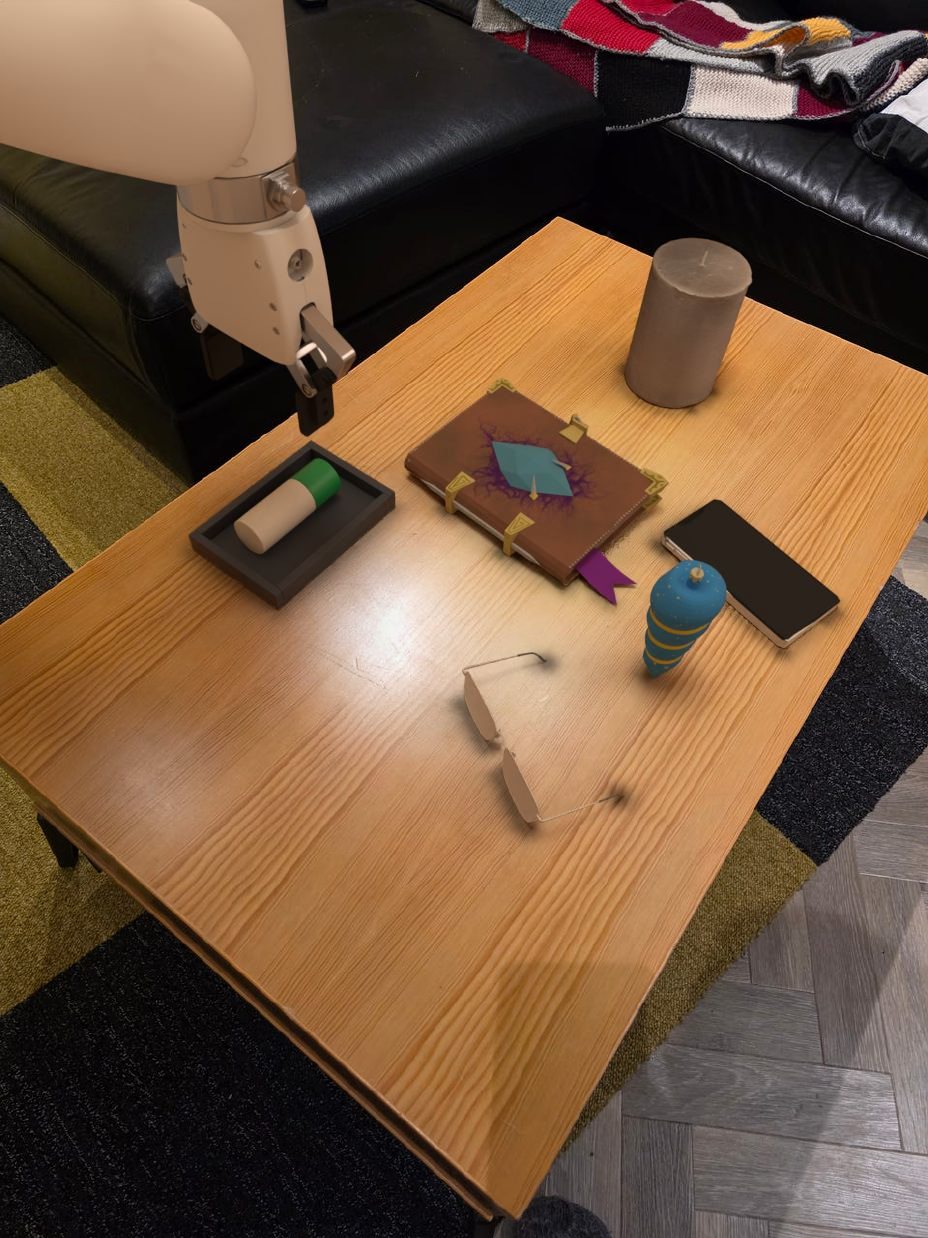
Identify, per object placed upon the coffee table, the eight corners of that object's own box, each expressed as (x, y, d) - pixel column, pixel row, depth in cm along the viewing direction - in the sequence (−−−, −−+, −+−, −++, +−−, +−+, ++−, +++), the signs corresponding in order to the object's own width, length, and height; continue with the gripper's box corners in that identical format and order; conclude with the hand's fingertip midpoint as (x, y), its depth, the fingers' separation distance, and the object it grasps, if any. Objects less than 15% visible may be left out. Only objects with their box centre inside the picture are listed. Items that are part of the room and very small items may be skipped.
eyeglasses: (456, 688, 72) (462, 661, 68) (542, 661, 74) (552, 633, 71) (532, 840, 64) (542, 817, 61) (624, 804, 67) (639, 780, 64)
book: (599, 627, 77) (607, 595, 73) (399, 481, 86) (396, 445, 82) (705, 521, 83) (718, 486, 79) (509, 396, 92) (512, 358, 88)
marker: (270, 553, 76) (245, 519, 75) (251, 555, 79) (227, 522, 77) (347, 488, 81) (326, 455, 79) (327, 492, 84) (306, 460, 82)
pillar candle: (635, 342, 99) (666, 215, 87) (720, 364, 97) (764, 238, 85) (614, 395, 93) (644, 268, 81) (704, 419, 92) (749, 293, 80)
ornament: (686, 658, 74) (740, 544, 62) (681, 709, 71) (737, 601, 59) (626, 645, 75) (667, 529, 63) (619, 696, 72) (660, 585, 60)
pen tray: (278, 610, 75) (275, 596, 74) (192, 549, 79) (187, 534, 77) (395, 507, 83) (395, 491, 81) (313, 455, 86) (310, 439, 84)
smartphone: (785, 644, 74) (659, 533, 81) (780, 652, 75) (656, 542, 82) (843, 599, 78) (718, 495, 84) (838, 606, 79) (714, 504, 85)
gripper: (384, 205, 53) (388, 423, 67) (187, 110, 59) (227, 329, 72) (297, 257, 49) (320, 476, 63) (95, 150, 55) (157, 373, 69)
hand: (271, 397), depth 68 cm, fingers open, 9 cm apart
